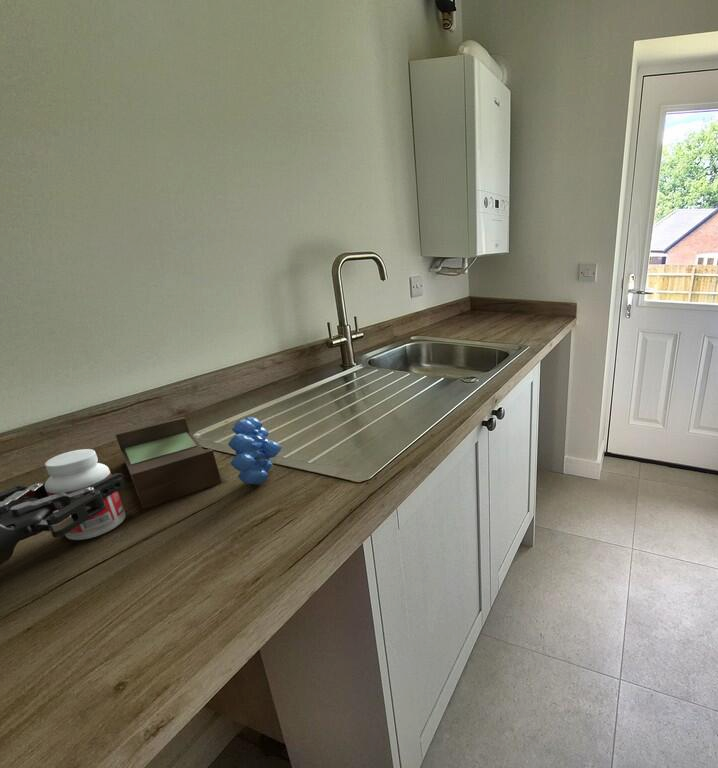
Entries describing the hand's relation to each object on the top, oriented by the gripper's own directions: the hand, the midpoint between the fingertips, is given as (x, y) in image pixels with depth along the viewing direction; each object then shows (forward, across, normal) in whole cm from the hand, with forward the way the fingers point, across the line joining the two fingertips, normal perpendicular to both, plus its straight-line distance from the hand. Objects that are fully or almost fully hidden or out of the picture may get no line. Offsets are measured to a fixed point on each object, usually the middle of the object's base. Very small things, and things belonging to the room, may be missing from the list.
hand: (100, 477), depth 57 cm
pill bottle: (-2, 0, +7) cm, 7 cm away
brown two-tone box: (+12, +3, +6) cm, 14 cm away
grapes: (+11, -16, +7) cm, 20 cm away
